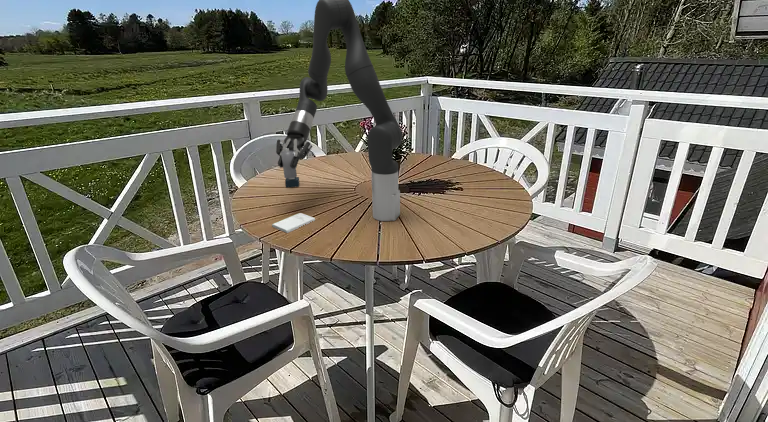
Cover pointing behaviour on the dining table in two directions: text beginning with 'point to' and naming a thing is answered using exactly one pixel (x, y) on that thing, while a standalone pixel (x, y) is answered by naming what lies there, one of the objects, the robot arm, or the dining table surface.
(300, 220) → the external hard drive
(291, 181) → the watch
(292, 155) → the grey upright cylinder
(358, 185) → the dining table surface
